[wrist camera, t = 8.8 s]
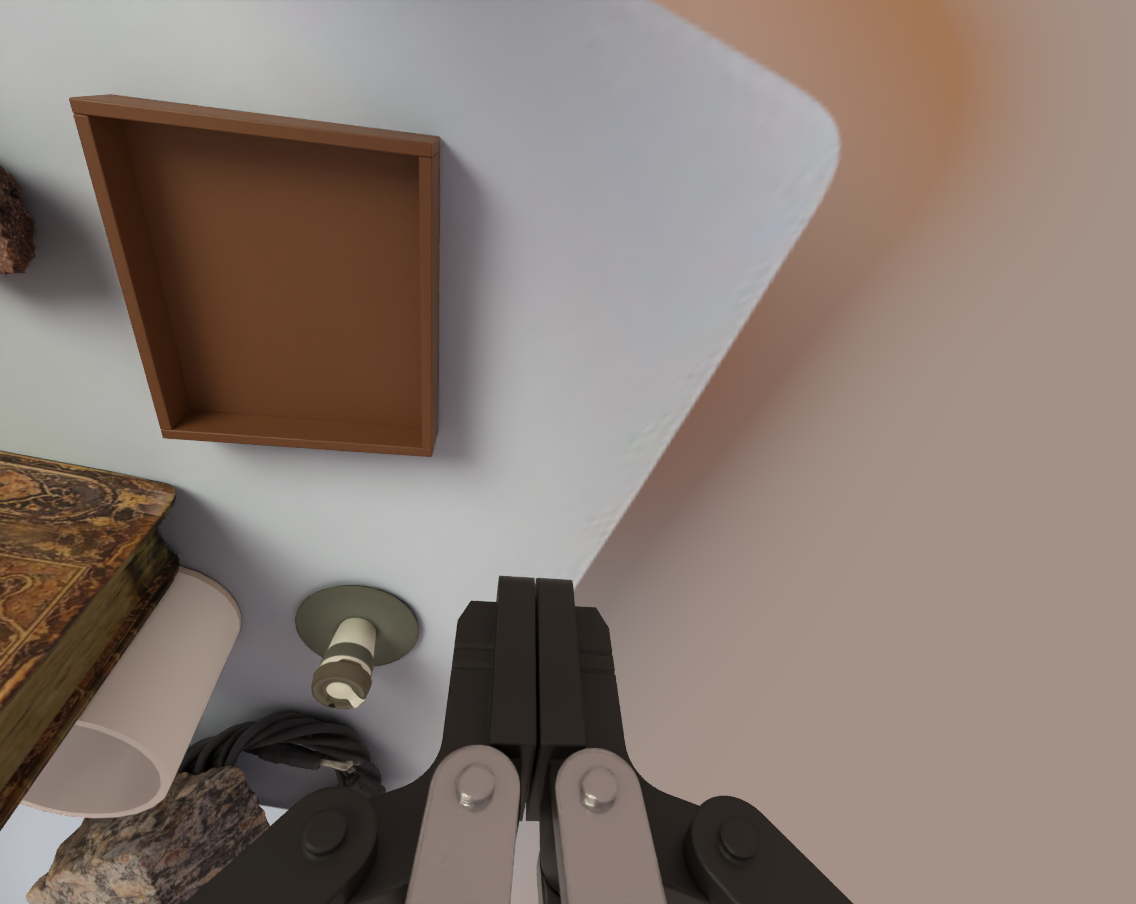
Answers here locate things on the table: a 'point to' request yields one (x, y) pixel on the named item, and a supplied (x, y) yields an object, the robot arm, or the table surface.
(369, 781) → the cable
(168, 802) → the stone block
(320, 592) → the olive disc with post
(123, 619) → the book
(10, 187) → the stone
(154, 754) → the mug
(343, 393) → the tray
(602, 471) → the table surface
